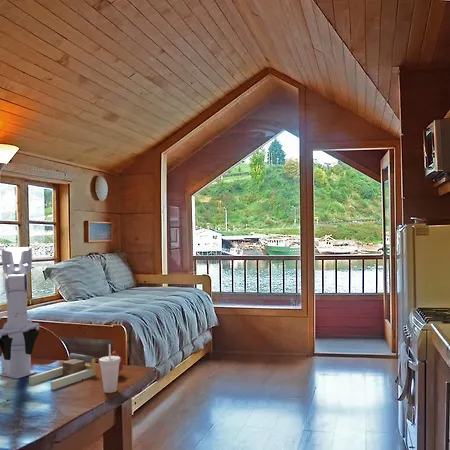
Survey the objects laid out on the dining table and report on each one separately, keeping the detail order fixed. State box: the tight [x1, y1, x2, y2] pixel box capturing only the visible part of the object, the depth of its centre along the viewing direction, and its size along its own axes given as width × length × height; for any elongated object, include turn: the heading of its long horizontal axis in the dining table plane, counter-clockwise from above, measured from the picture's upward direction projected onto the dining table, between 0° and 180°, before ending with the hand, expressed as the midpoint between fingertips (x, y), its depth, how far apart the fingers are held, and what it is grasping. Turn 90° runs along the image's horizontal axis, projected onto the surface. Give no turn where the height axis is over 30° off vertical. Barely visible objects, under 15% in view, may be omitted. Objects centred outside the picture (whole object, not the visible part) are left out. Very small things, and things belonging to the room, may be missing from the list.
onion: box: [111, 350, 124, 374], centre depth 172 cm, size 6×6×8 cm
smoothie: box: [98, 343, 121, 394], centre depth 156 cm, size 6×6×14 cm
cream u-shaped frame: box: [28, 352, 97, 390], centre depth 169 cm, size 11×18×6 cm, turn 148°
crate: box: [61, 359, 86, 377], centre depth 172 cm, size 5×5×5 cm
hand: (18, 356), depth 162 cm, fingers open, 7 cm apart
